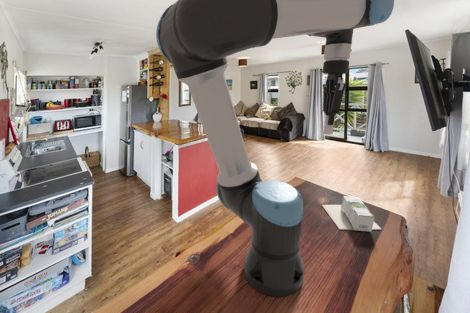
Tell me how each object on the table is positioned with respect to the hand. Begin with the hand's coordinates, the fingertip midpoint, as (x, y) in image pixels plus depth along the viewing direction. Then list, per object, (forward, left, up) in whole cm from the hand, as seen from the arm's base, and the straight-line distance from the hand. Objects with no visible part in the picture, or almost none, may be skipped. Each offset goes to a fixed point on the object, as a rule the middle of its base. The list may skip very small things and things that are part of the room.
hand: (327, 133), depth 80 cm
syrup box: (+10, -13, -27) cm, 32 cm away
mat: (+10, -3, -30) cm, 32 cm away
